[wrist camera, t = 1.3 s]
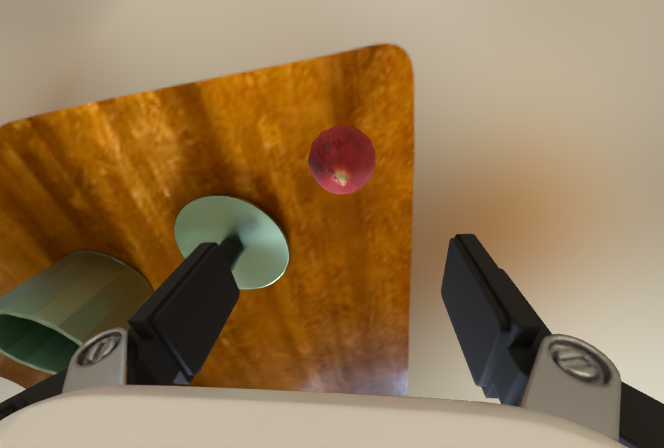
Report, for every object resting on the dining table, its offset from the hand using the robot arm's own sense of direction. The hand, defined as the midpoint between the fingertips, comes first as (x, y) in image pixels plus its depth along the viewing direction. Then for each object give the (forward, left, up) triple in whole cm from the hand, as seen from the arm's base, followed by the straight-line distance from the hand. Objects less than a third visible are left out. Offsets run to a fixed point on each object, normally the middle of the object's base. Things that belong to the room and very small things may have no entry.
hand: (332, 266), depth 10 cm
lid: (+11, -15, -17) cm, 25 cm away
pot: (+18, -38, -18) cm, 46 cm away
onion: (0, 0, -18) cm, 18 cm away
